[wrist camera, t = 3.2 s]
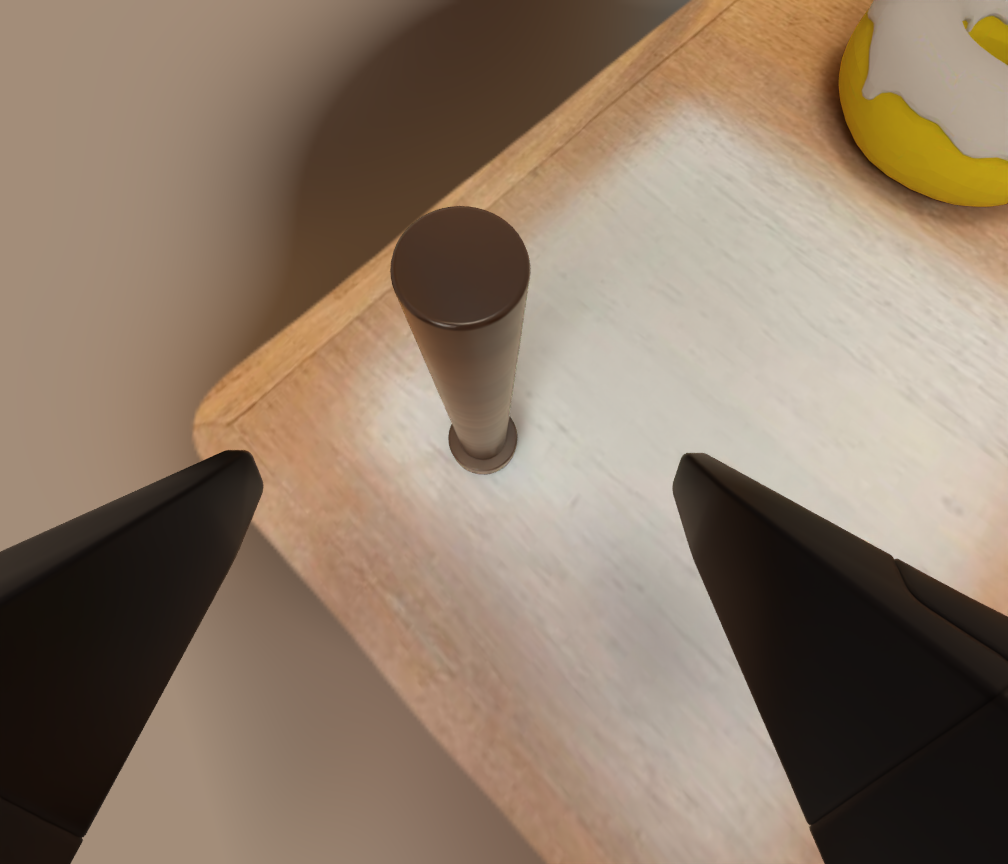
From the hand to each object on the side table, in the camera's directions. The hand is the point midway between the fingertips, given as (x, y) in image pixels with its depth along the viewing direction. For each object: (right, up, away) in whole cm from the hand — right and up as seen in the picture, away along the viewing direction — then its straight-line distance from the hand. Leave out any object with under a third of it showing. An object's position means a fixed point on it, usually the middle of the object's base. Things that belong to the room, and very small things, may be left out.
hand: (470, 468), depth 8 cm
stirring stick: (0, 0, +10) cm, 10 cm away
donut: (+26, +19, +15) cm, 35 cm away
